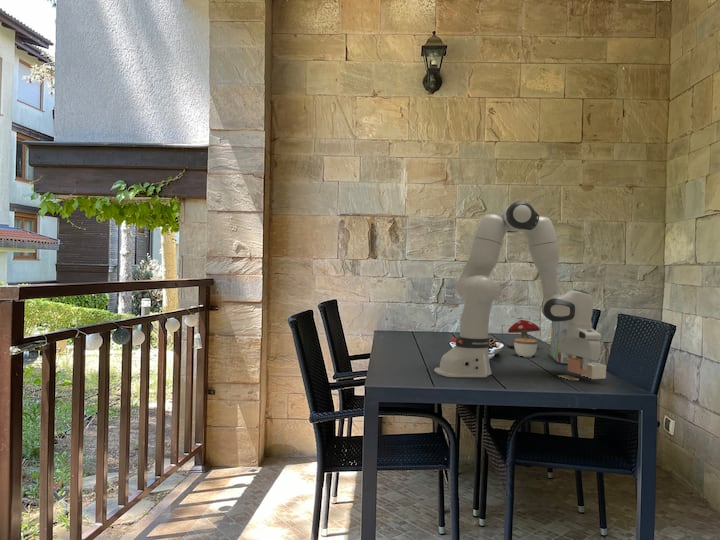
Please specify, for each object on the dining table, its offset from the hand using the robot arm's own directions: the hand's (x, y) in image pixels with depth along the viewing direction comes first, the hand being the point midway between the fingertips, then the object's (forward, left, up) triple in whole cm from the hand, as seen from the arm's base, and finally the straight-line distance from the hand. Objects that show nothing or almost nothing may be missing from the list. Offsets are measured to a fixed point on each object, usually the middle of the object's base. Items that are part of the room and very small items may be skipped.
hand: (577, 367), depth 200 cm
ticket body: (+8, 0, -4) cm, 9 cm away
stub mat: (-4, 0, -4) cm, 6 cm away
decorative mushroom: (+21, +67, -4) cm, 71 cm away
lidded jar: (+8, +46, -4) cm, 47 cm away
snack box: (+20, +34, -4) cm, 40 cm away
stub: (0, 0, -2) cm, 2 cm away
